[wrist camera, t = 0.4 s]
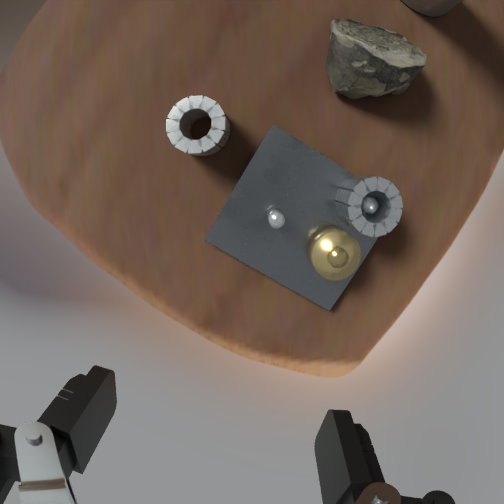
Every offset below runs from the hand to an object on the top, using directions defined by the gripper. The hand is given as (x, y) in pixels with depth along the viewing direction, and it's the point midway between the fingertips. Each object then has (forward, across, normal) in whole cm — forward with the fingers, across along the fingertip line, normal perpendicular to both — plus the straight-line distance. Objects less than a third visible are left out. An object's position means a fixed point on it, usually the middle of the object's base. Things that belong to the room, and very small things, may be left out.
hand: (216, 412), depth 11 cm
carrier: (+26, -6, -4) cm, 27 cm away
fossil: (+26, -10, -24) cm, 37 cm away
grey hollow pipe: (+24, -11, -7) cm, 28 cm away
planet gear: (+26, +7, -12) cm, 29 cm away
